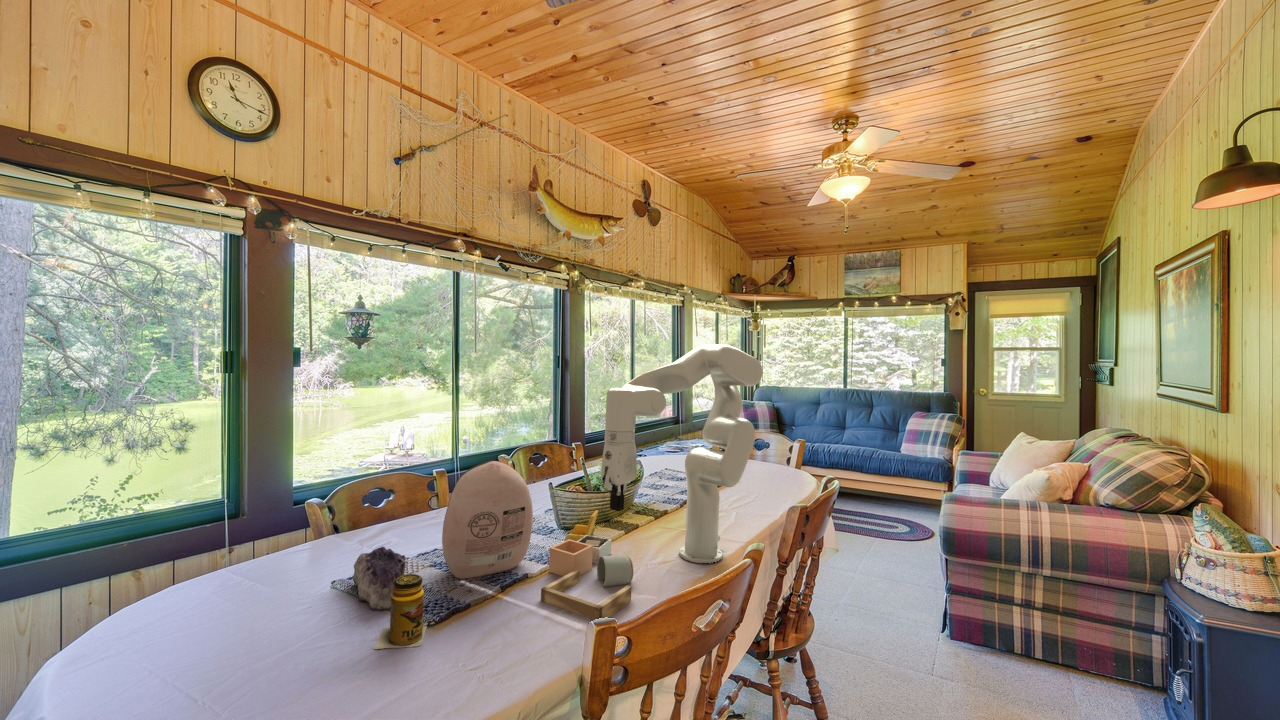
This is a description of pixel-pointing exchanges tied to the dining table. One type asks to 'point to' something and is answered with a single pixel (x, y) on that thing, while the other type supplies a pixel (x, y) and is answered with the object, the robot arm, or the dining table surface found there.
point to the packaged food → (487, 521)
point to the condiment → (405, 614)
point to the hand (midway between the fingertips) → (616, 509)
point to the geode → (378, 576)
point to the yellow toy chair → (583, 529)
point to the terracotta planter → (570, 557)
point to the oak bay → (580, 606)
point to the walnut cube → (593, 543)
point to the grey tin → (602, 550)
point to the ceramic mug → (615, 570)
